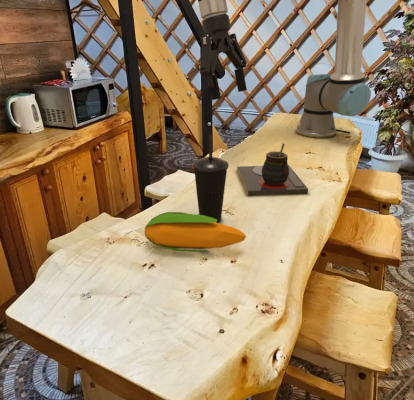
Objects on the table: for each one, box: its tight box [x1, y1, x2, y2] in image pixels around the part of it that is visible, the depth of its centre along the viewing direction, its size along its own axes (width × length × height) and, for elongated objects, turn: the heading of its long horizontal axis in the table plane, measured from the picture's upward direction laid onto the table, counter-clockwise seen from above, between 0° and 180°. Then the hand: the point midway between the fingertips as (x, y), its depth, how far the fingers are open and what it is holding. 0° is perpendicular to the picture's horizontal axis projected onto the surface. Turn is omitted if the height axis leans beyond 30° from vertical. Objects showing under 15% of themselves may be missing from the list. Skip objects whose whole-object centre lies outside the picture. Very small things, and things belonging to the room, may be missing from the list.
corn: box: [144, 211, 247, 253], centre depth 72 cm, size 7×8×20 cm
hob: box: [236, 164, 309, 197], centre depth 104 cm, size 16×18×2 cm
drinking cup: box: [192, 133, 229, 224], centre depth 80 cm, size 8×8×20 cm
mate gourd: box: [262, 143, 289, 186], centre depth 98 cm, size 7×8×10 cm
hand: (230, 95), depth 108 cm, fingers open, 13 cm apart
